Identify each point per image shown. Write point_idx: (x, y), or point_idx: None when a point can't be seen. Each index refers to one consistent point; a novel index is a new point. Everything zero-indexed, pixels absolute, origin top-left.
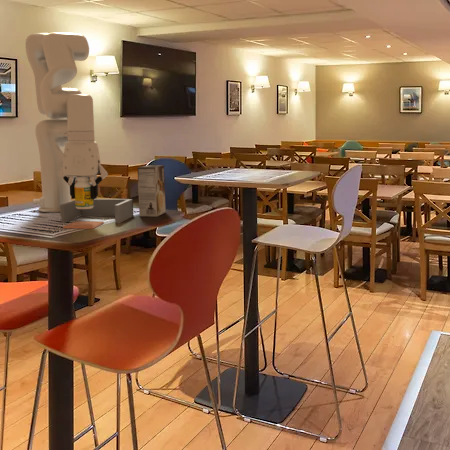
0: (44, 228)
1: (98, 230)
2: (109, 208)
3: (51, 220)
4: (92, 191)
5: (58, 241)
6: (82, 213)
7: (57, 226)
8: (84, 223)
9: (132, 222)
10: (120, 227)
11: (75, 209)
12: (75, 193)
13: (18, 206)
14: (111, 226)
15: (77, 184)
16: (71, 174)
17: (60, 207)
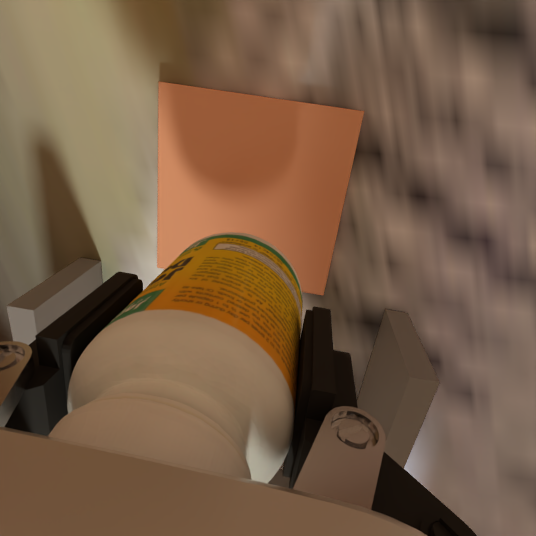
0: (494, 123)
1: (107, 2)
2: None
3: (472, 394)
4: (81, 304)
5: None
6: None
7: (413, 195)
8: (248, 210)
9: (25, 276)
10: (17, 116)
11: None
12: (280, 317)
13: None
14: (83, 159)
15: (225, 367)
16: (295, 514)
17: (432, 369)
